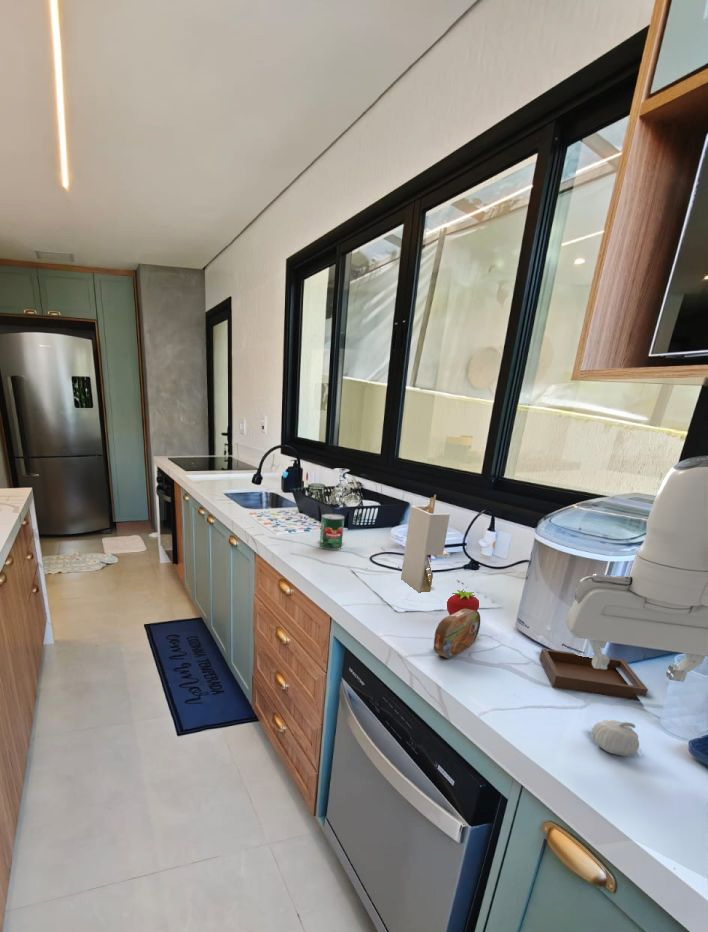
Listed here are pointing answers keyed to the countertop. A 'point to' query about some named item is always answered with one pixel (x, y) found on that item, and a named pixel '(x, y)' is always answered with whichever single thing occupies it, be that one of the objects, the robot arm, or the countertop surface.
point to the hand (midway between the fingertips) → (635, 673)
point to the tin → (456, 633)
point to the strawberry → (462, 602)
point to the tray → (590, 675)
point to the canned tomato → (331, 531)
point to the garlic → (616, 737)
